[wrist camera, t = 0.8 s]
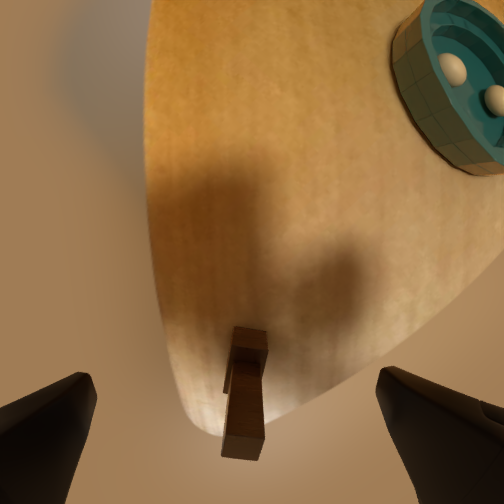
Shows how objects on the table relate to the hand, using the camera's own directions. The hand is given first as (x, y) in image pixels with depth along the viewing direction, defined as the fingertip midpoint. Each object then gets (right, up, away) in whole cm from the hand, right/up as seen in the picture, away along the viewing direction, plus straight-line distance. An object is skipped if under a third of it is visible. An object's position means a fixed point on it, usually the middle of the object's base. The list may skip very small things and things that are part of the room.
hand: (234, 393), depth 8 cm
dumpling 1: (+16, +18, +8) cm, 26 cm away
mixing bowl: (+19, +18, +10) cm, 28 cm away
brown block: (0, -3, +13) cm, 14 cm away
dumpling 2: (+22, +17, +8) cm, 29 cm away
